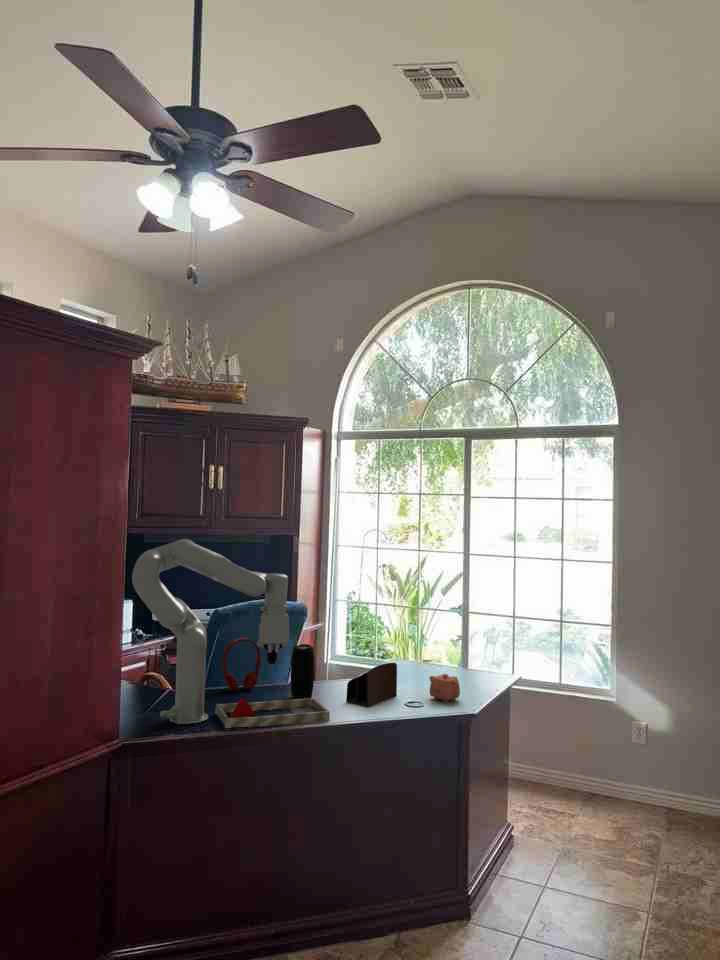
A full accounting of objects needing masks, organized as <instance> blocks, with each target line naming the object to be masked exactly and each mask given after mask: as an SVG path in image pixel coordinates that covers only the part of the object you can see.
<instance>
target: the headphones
mask: <svg viewBox="0 0 720 960" xmlns="http://www.w3.org/2000/svg"><path fill="white" fill-rule="evenodd" d="M242 641H244V642H250V643H251V644H252V645H253V646H254V647H255V650H256V661H255V669H254V670H250V671H249V672H247V673H246V675H245V676H244V678H243V681H242V687H243V688H244V689H245V690H250V689H251V690H253V689H254V687H256V684H257V682H258V679H259V678H258V677H259V673H260V669H259V668H260V667H261V651H260V647H259V646H258V645H257V643H256V642H254V641H253V640H251V639H249V638H246V637H245V638H244V637H239V638H238V637H237V638H236V639H234V640H232V641H230V642H229V643H228V644H227V646H226V647H225V648H224V651H223V653H222V661H221V665H222V666H221V668H222V670H223V672H222V675H223V679H224V682H225V684H226V686H227V688H228V689H229V690H230V691H231V690H232V691H231V692H233V691H234V690H235V692H236V691H237V690H238V689H239V684H238V681H237V679H236V678H235V676H234V675H233V674H232V673H231V672H228V671H227V669H228V666H227V664H226V661H227V660H226V659H227V653H228V652H229V650H230V648H231V647H232V646H234V645H236V643H238V642H242ZM227 672H228V673H227ZM233 689H234V690H233Z"/></svg>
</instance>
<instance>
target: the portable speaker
mask: <svg viewBox="0 0 720 960" xmlns="http://www.w3.org/2000/svg"><path fill="white" fill-rule="evenodd" d="M292 647H293V648H292V654H291V659H290V660H291V661H290V681H289V682H290V695H291V697H292V700H294V699H307V698H313V691H314V683H315V680H314V679H315V650H314V646H312V645H311V644H307V643H304V644H303V643H302V644H298V645H293V646H292Z"/></svg>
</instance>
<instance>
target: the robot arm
mask: <svg viewBox="0 0 720 960" xmlns="http://www.w3.org/2000/svg"><path fill="white" fill-rule="evenodd" d="M179 566H181V567H184V568H186V569H188V570H192V571H194V572H196V573H198V574H201V575H203V576H205V577H207V578H210V579H211V580H213V581H215V582H217V583H221V584H223V585H225V586H227V587H229V588H232V589H234V590H236V591H238V592H241V593H242V594H245V595H247V596H250V597H255V598H256V597H260V596H261V595H263V594H264V603H263V605H262V606H259V610H260V611H262V612H263V613H261V615H260V621H259V624H258V632H257V643H256V645H257V646H258V647H259V648H264V650H265V651H266V652H267V654H266V662H267V663H268V664H269V665H276V662H277V661H278V660H277V657H278V652H279V651H280V650H281V649H282V648H284V647H285V648H286V647H288V646H289V641H290V620H289V614H288V613H287V601H288V600H287V598H288V589H289V587H288V586H289V585H288V584H289V576H288V575H287V574H285V573H275V572H274V573H266V572H265V573H264V572H260V571H251V570H248V569H246V568H244V567H242V566H239V565H237V564H235V563H233V562H232V561H231V560H230V559H228V558H227V557H225V556H223V554H221V553H218V552H215V551H212V550H211V549H208V548H205V547H203V546H201V545H199V544H197V543H195V542H194V541H192V540H191V539H188V538H181V539H179V540H176V541H173V542H170V543H167V544H164V545H161V546H157V547H154V548H152V549H148V550H146V551H144V552H143V553H142V554H140V556H139V557H138V559H136V563H135V564H134V567H133V570H132V575H131V580H132V585H133V588H134V591H135V592H136V593H137V595H138V597H139V598H140V599H141V600H142V601H143V603H144V604H145V606H146V607H147V609H149V610H150V612H151V613H152V614H153V616H154V617H155V618H156V619H157V621H158V622H159V624H160V625H161V626H162V627H164V628H166V629H167V630H168V629H169V630H170V631H171V633H172V634H174V635H175V637H176V665H175V666H176V667H175V669H176V670H175V675H176V676H175V699H174V705H172V706H171V707H172V708H170V709H169V710H160V713H159V715H160V717H161V718H166V717H167V719H168V718H169V721H170V723H172V722H174V723H177V724H176V725H179V724H189V723H197V722H202V721H205V720H207V719H208V720H209V715H208V713H205V691H206V690H205V687H206V686H205V685H206V658H207V643H208V642H207V641H208V640H207V638H208V637H207V634H208V633H207V630H206V626H204V624H203V623H202V622H201V620H200V619H199V618H198V617H197V616H196V614H195V613H194V612H193V611H192V610H191V608H190V607H189V606H188V604H186V603H185V601H183V599H181V598H179V597H176V596H174V595H173V594H172V593H171V592H170V591H169V589H168V588H167V587H166V585H164V583H163V582H162V581H161V579H160V574H161V573H162V572H165V571H167V570H170V569H173V568H177V567H179ZM272 645H273V646H272ZM272 647H273V648H272ZM208 720H207V721H208ZM174 723H173V724H174Z"/></svg>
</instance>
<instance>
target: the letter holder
mask: <svg viewBox="0 0 720 960" xmlns="http://www.w3.org/2000/svg"><path fill="white" fill-rule="evenodd" d="M346 685H347V686H346V702H348V703H347V704H350V703H352V704H351V705H355V704H356V705H355V706H359V705H360V706H359V707H363V706H364V708H370V707H373V706H375V705H378V704H381V703H384V702H386V701H388V700H392V699H394V698H393V697H395V698H397V697H396V696H398V694H397V692H398V691H397V690H398V689H397V687H398V665H397V663H396V662H386V663H383V664H378V665H377V666H375V667H372V668H371V669H369V670H367V671H366V672H365V673H364V672H363V673H362V674H361V675H358V676H356V677H354V678H351V679H349V681H347V684H346ZM391 698H392V699H391ZM383 701H384V702H383Z"/></svg>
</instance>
